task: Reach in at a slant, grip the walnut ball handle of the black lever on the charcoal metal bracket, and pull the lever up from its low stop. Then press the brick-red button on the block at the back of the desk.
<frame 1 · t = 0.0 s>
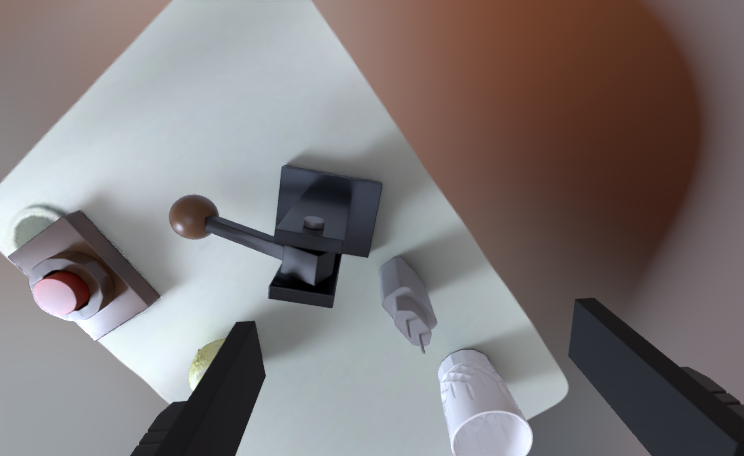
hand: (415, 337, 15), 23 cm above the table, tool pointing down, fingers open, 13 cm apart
lever: (245, 236, 27), point 11 cm above the table, hinge at -25.0°
button block: (95, 273, 39), on the table
tennis ball: (232, 350, 43), on the table
bracket: (327, 211, 37), on the table
button: (62, 293, 35), point 4 cm above the table, slide at 0.1 cm
white cup: (464, 370, 44), on the table
power adapter: (402, 278, 40), on the table
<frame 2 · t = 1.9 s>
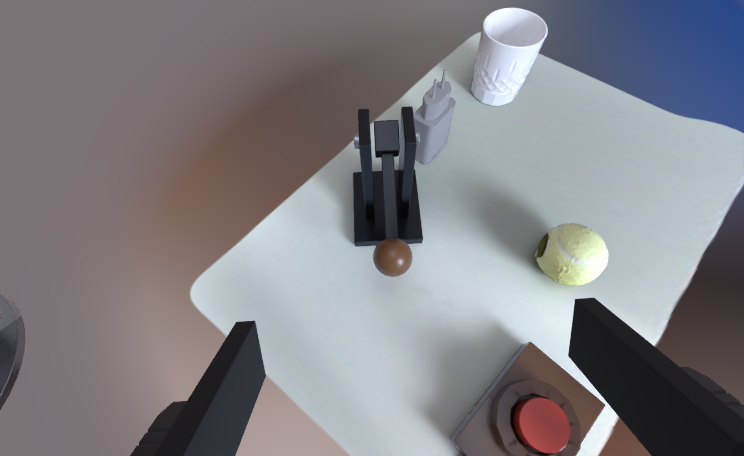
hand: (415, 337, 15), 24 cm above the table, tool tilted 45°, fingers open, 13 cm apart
lever: (389, 200, 33), point 11 cm above the table, hinge at -25.0°
button block: (522, 422, 34), on the table
tennis ball: (557, 267, 41), on the table
bracket: (386, 208, 45), on the table
button: (540, 424, 30), point 4 cm above the table, slide at 0.1 cm
white cup: (493, 91, 54), on the table
power adapter: (428, 148, 49), on the table
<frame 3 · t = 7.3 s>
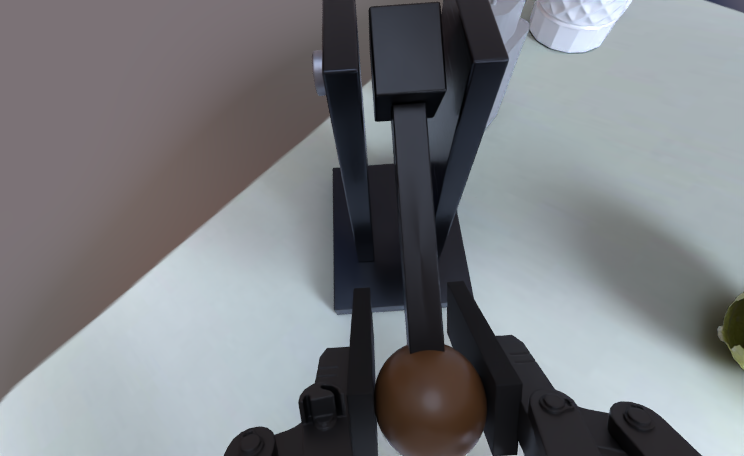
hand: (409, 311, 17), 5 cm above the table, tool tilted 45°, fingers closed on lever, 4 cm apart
lever: (417, 236, 12), point 11 cm above the table, hinge at -25.0°, touching gripper
bracket: (395, 235, 23), on the table
white cup: (565, 31, 32), on the table
power adapter: (465, 124, 28), on the table
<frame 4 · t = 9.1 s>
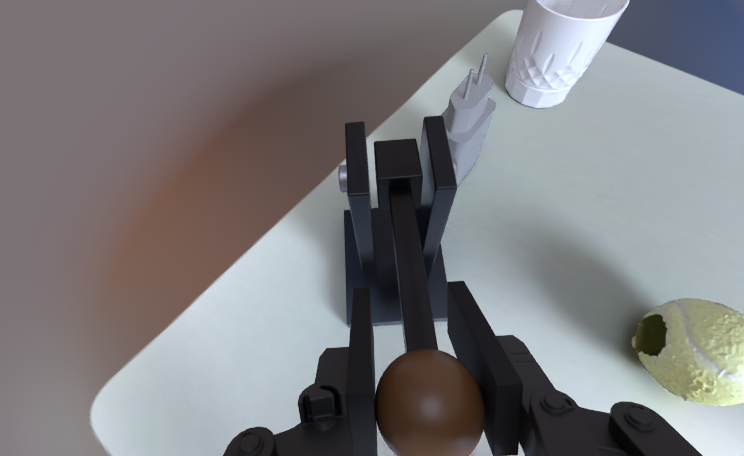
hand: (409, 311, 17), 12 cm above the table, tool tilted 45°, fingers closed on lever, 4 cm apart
lever: (410, 268, 15), point 14 cm above the table, hinge at 10.6°, touching gripper
tennis ball: (663, 359, 26), on the table
bracket: (393, 264, 30), on the table
white cup: (535, 87, 39), on the table
power adapter: (450, 170, 34), on the table
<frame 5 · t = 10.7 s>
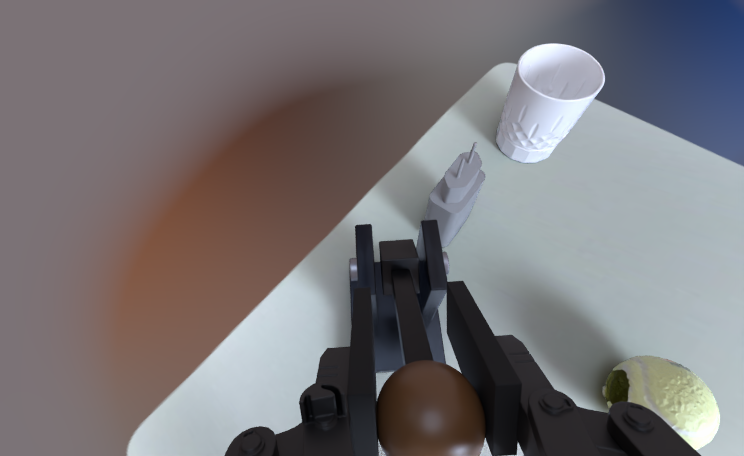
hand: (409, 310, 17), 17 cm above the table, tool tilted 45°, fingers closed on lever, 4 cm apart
lever: (409, 321, 17), point 17 cm above the table, hinge at 42.2°, touching gripper
tennis ball: (630, 404, 30), on the table
bracket: (394, 314, 34), on the table
white cup: (523, 142, 43), on the table
power adapter: (445, 224, 38), on the table
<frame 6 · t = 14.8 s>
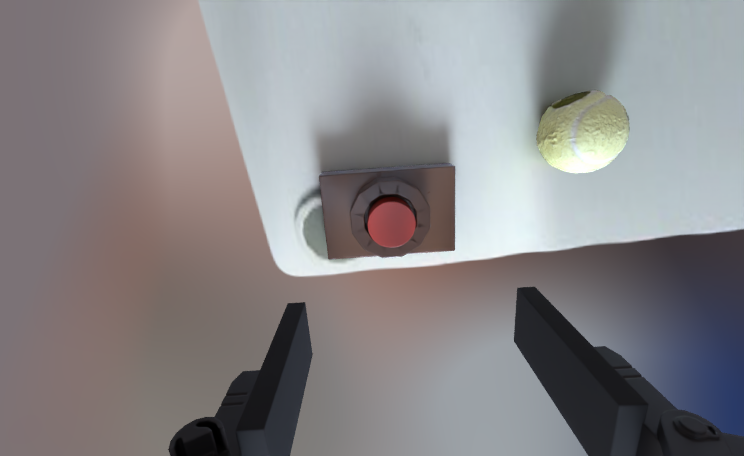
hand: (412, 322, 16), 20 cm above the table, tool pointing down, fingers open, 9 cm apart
button block: (387, 208, 34), on the table
tennis ball: (557, 132, 33), on the table
button: (391, 222, 30), point 4 cm above the table, slide at 0.1 cm
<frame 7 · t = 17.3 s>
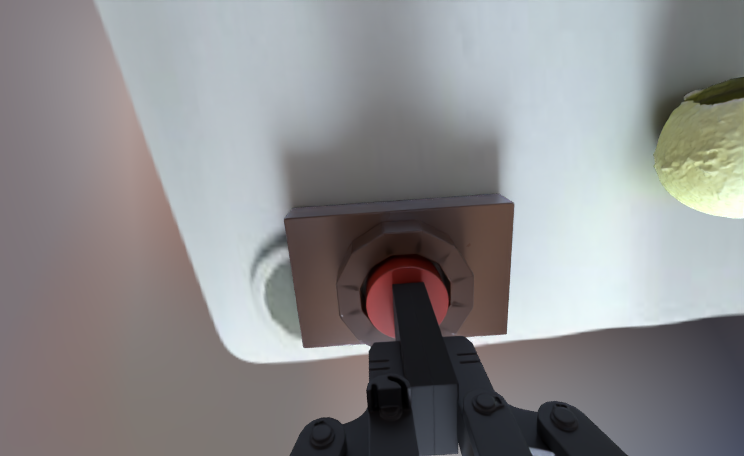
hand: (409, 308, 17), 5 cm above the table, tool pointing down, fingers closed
button block: (398, 264, 22), on the table
tennis ball: (678, 145, 20), on the table
button: (405, 295, 18), point 4 cm above the table, slide at -0.5 cm, touching gripper
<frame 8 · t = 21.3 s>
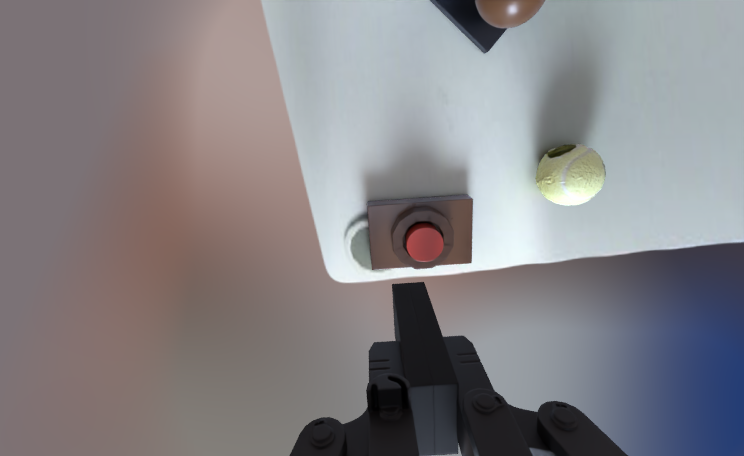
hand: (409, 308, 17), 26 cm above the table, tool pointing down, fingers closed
button block: (418, 229, 43), on the table
tennis ball: (552, 171, 42), on the table
button: (424, 242, 39), point 4 cm above the table, slide at 0.1 cm
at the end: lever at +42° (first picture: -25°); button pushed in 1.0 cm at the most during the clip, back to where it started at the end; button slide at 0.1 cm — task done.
